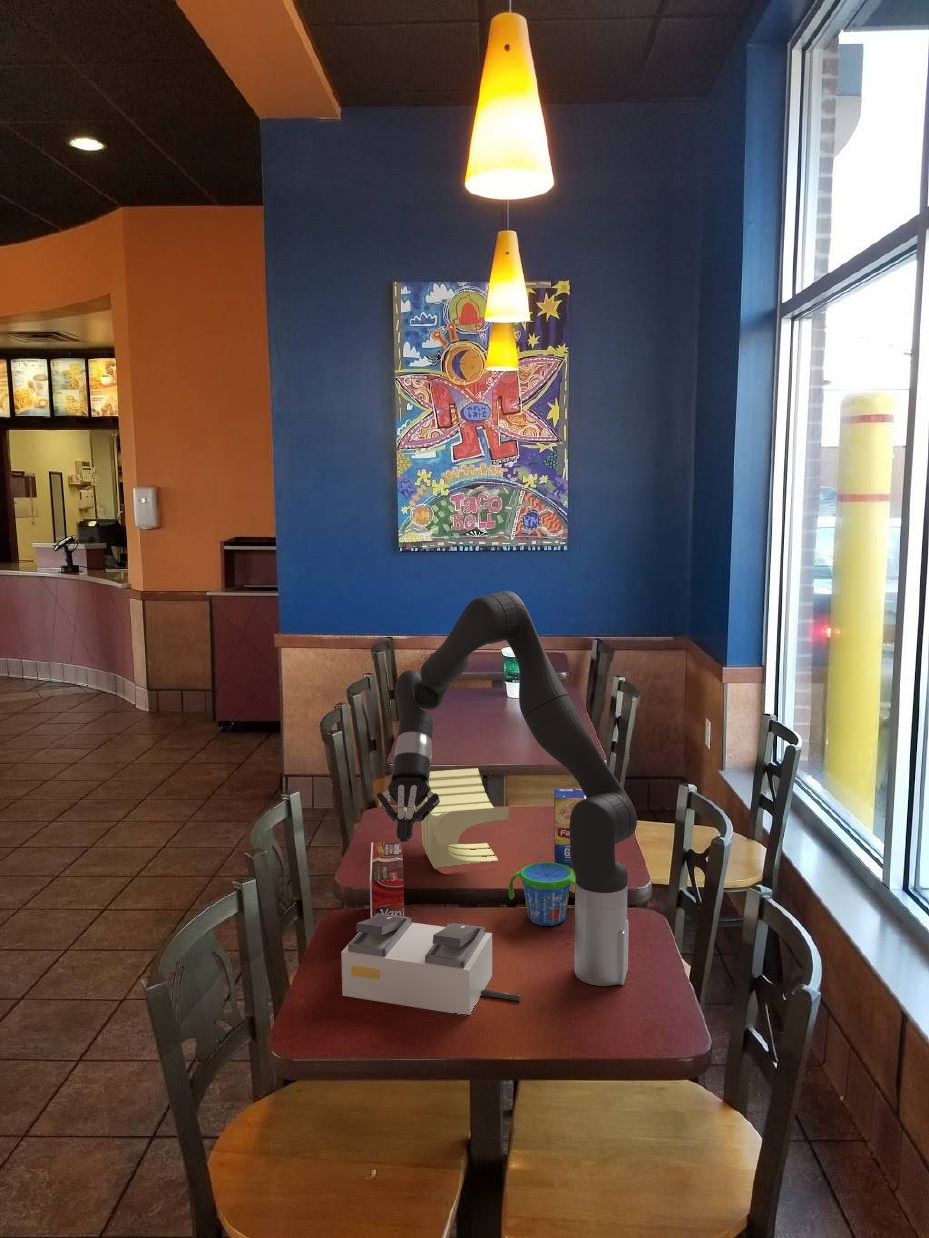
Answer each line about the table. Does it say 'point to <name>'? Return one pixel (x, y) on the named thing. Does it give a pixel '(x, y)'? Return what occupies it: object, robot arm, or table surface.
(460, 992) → the switch box
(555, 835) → the beverage box
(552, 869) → the snack cup
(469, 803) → the slatted curved stool
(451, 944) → the rocker plain
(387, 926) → the rocker dark gray
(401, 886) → the ice cream box
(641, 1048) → the table surface
